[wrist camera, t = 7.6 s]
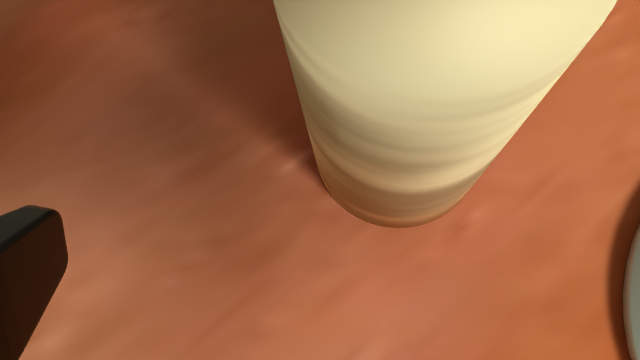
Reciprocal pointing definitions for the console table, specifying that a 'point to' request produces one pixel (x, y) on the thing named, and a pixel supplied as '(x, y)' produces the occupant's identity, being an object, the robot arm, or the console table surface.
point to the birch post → (423, 91)
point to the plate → (632, 298)
